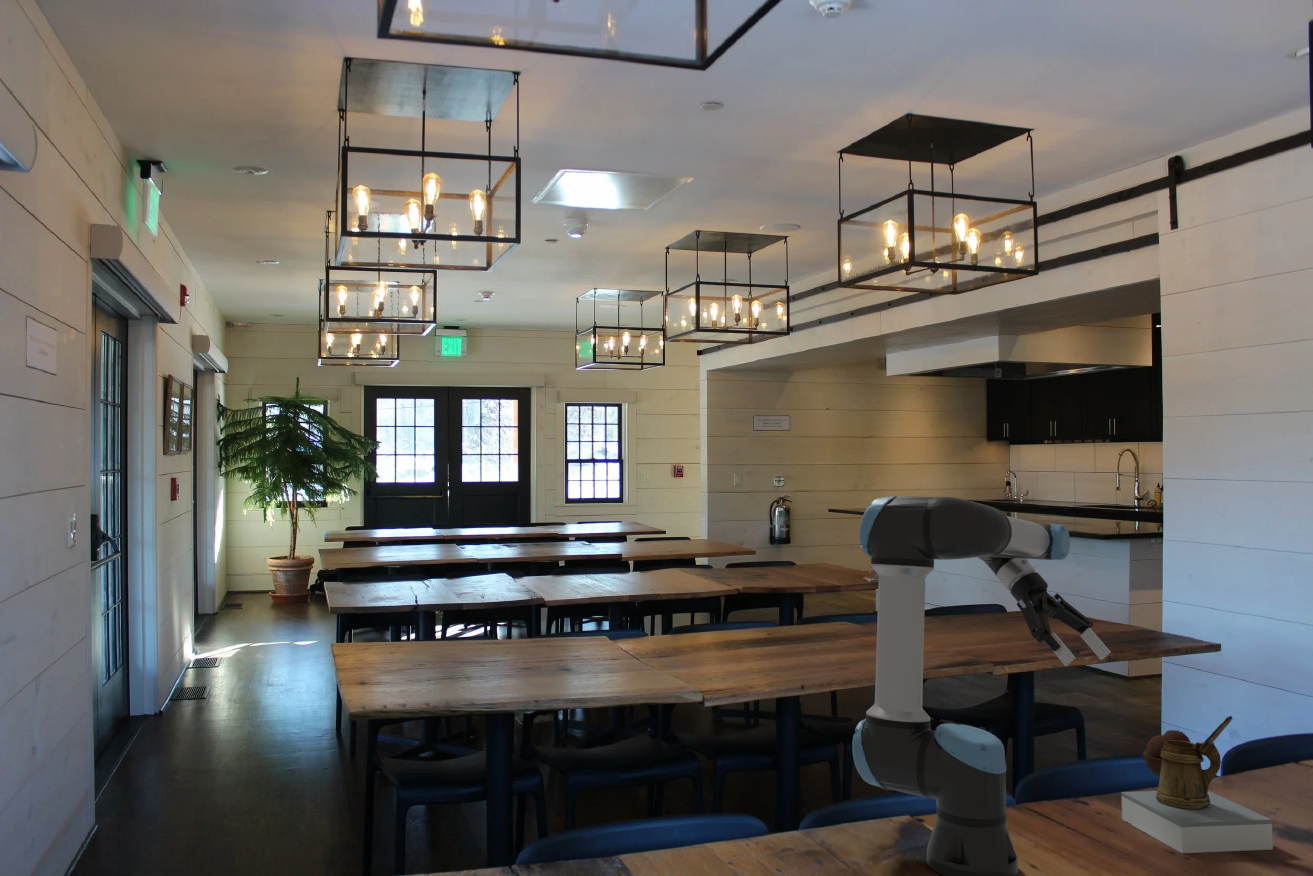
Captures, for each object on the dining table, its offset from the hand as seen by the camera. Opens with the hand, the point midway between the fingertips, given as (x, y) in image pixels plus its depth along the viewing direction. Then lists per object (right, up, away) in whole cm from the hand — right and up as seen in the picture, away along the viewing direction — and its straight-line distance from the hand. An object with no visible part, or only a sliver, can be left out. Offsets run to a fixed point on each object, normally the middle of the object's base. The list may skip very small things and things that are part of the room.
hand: (1088, 659), depth 197 cm
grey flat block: (+13, -30, -16) cm, 36 cm away
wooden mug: (+13, -25, -16) cm, 32 cm away
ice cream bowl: (+19, -31, +3) cm, 37 cm away
